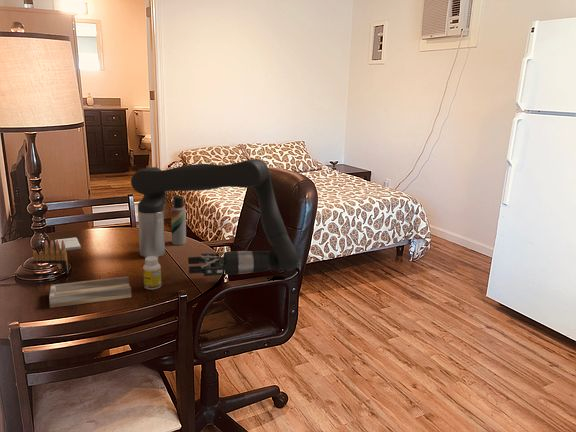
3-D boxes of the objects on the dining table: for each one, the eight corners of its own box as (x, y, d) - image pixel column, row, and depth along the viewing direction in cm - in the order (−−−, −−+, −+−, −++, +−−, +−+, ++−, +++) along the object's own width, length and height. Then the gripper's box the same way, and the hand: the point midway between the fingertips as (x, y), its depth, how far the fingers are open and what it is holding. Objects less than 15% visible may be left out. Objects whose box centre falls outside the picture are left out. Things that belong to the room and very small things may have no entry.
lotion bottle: (178, 240, 191) (177, 194, 186) (189, 242, 189) (188, 196, 183) (169, 243, 187) (167, 196, 181) (179, 246, 184) (178, 198, 179)
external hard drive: (57, 252, 173) (54, 243, 183) (81, 250, 177) (77, 240, 187) (57, 248, 172) (54, 239, 182) (80, 246, 176) (76, 236, 187)
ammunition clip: (69, 272, 153) (66, 239, 150) (67, 274, 152) (64, 240, 148) (36, 273, 152) (32, 239, 149) (33, 275, 150) (29, 240, 147)
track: (52, 293, 137) (51, 284, 136) (128, 284, 146) (128, 275, 145) (50, 307, 128) (49, 298, 128) (131, 297, 137) (131, 288, 136)
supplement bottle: (140, 286, 145) (139, 257, 143) (156, 281, 149) (155, 253, 146) (149, 291, 141) (147, 262, 139) (164, 287, 145) (163, 258, 143)
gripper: (235, 245, 155) (187, 247, 152) (241, 259, 142) (188, 262, 138) (235, 265, 157) (188, 268, 154) (241, 281, 144) (189, 284, 140)
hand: (188, 265), depth 146 cm, fingers open, 8 cm apart
